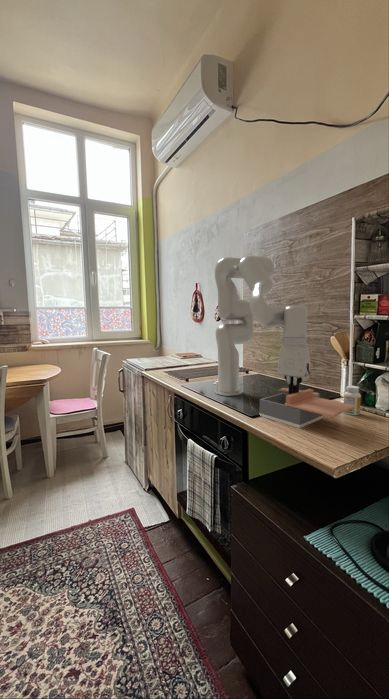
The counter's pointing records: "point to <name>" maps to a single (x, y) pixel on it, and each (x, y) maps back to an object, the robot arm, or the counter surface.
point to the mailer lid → (316, 404)
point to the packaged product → (286, 390)
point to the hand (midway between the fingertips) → (293, 395)
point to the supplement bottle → (352, 399)
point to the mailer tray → (286, 411)
